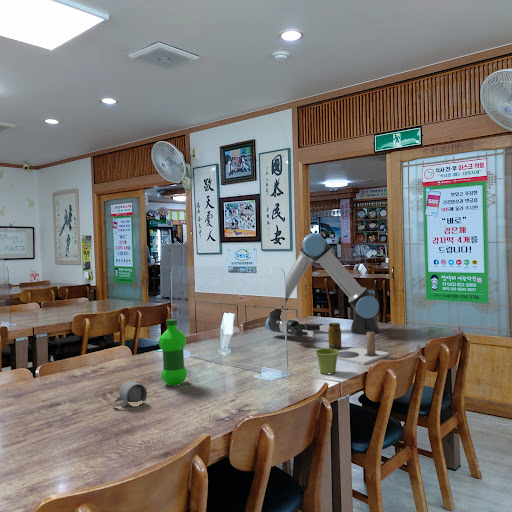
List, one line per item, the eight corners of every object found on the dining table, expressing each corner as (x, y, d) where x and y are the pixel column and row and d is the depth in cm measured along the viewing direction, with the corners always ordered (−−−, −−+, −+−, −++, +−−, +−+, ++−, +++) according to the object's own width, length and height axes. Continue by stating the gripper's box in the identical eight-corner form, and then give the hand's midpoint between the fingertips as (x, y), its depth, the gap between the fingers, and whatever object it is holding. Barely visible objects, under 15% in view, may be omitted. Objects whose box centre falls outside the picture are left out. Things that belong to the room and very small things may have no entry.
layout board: (354, 348, 225) (353, 325, 224) (389, 354, 212) (388, 330, 211) (328, 357, 211) (327, 333, 211) (363, 364, 198) (363, 338, 197)
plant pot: (340, 369, 192) (340, 348, 192) (338, 376, 183) (337, 354, 183) (317, 368, 195) (317, 348, 194) (314, 375, 186) (313, 354, 185)
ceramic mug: (138, 398, 168) (136, 376, 168) (148, 403, 162) (146, 381, 161) (109, 406, 162) (107, 384, 161) (118, 412, 155) (117, 389, 155)
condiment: (334, 345, 233) (333, 321, 233) (348, 348, 227) (347, 323, 226) (324, 348, 229) (323, 323, 228) (338, 351, 222) (337, 326, 221)
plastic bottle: (158, 382, 185) (155, 319, 184) (185, 378, 189) (182, 316, 188) (163, 389, 176) (159, 323, 175) (191, 385, 180) (187, 320, 178)
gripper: (305, 329, 257) (337, 334, 242) (273, 338, 240) (305, 344, 225) (305, 316, 257) (336, 320, 241) (273, 323, 240) (305, 328, 224)
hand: (322, 331), depth 233 cm, fingers open, 13 cm apart
